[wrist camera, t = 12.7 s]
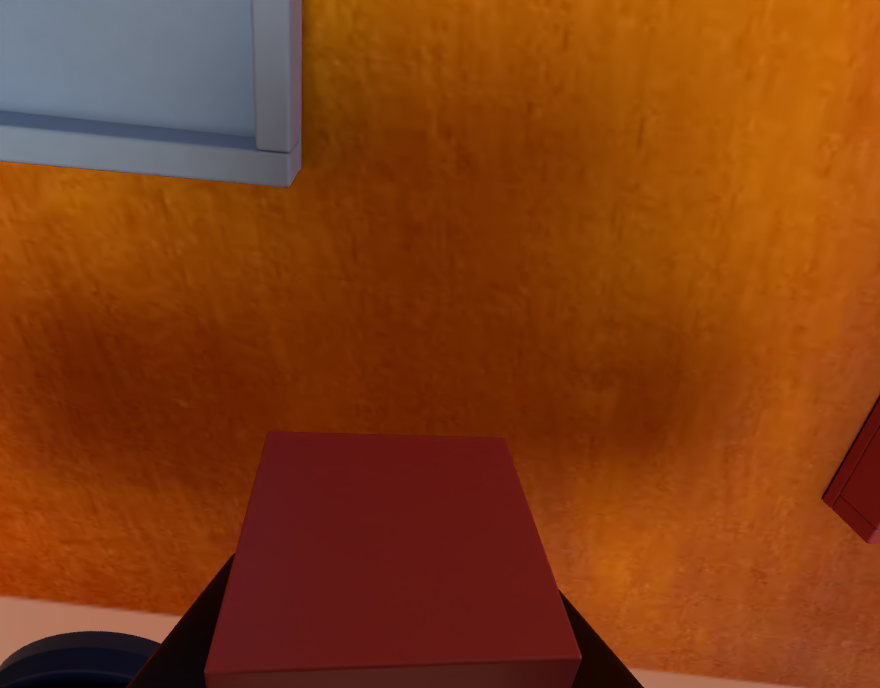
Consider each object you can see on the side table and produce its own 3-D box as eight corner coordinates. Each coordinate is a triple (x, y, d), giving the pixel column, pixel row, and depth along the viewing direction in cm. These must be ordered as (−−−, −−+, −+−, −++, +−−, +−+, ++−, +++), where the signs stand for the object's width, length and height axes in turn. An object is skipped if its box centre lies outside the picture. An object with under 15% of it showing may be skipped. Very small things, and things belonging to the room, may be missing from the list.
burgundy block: (471, 592, 11) (518, 833, 8) (272, 596, 11) (225, 859, 7) (505, 436, 10) (584, 657, 6) (267, 430, 9) (202, 673, 5)
